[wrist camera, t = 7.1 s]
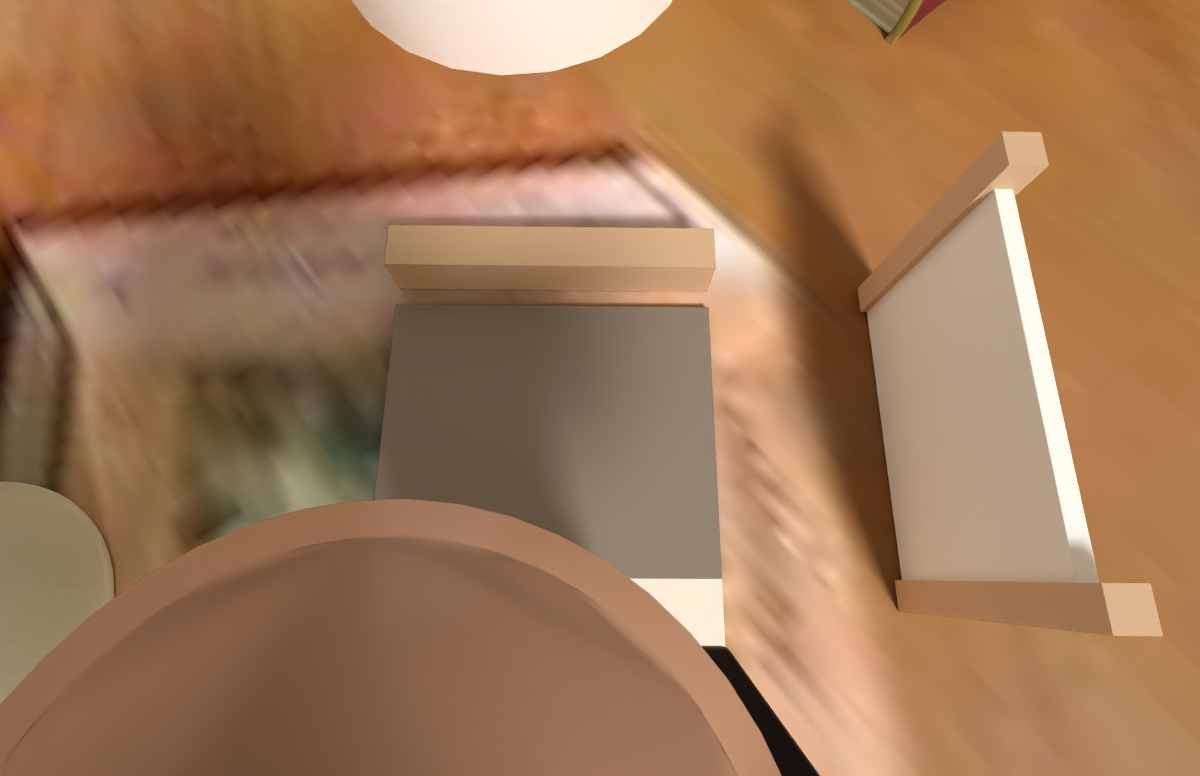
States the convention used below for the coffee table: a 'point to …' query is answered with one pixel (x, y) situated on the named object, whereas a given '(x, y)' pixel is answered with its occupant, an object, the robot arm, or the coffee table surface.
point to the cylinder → (510, 30)
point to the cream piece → (686, 417)
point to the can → (45, 576)
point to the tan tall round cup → (381, 661)
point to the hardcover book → (895, 14)
